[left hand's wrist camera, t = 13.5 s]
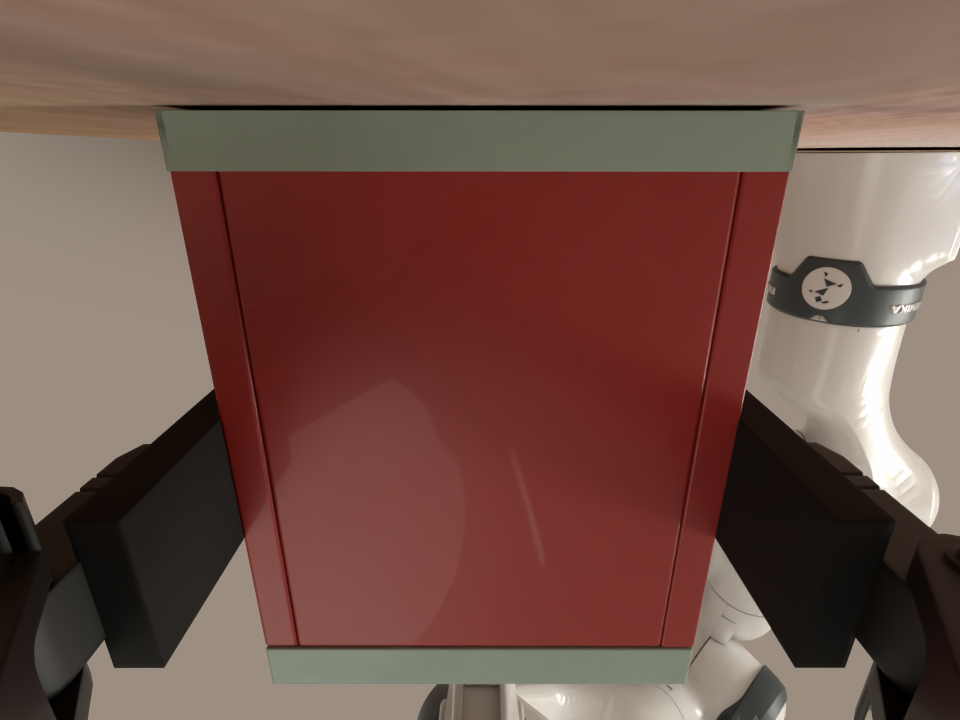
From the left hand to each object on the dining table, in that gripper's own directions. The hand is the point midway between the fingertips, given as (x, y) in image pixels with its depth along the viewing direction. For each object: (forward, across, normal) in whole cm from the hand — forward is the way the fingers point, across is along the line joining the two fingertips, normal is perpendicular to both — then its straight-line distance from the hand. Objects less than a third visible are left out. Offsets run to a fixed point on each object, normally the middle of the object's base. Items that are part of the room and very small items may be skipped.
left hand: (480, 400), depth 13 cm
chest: (+3, 0, -6) cm, 7 cm away
